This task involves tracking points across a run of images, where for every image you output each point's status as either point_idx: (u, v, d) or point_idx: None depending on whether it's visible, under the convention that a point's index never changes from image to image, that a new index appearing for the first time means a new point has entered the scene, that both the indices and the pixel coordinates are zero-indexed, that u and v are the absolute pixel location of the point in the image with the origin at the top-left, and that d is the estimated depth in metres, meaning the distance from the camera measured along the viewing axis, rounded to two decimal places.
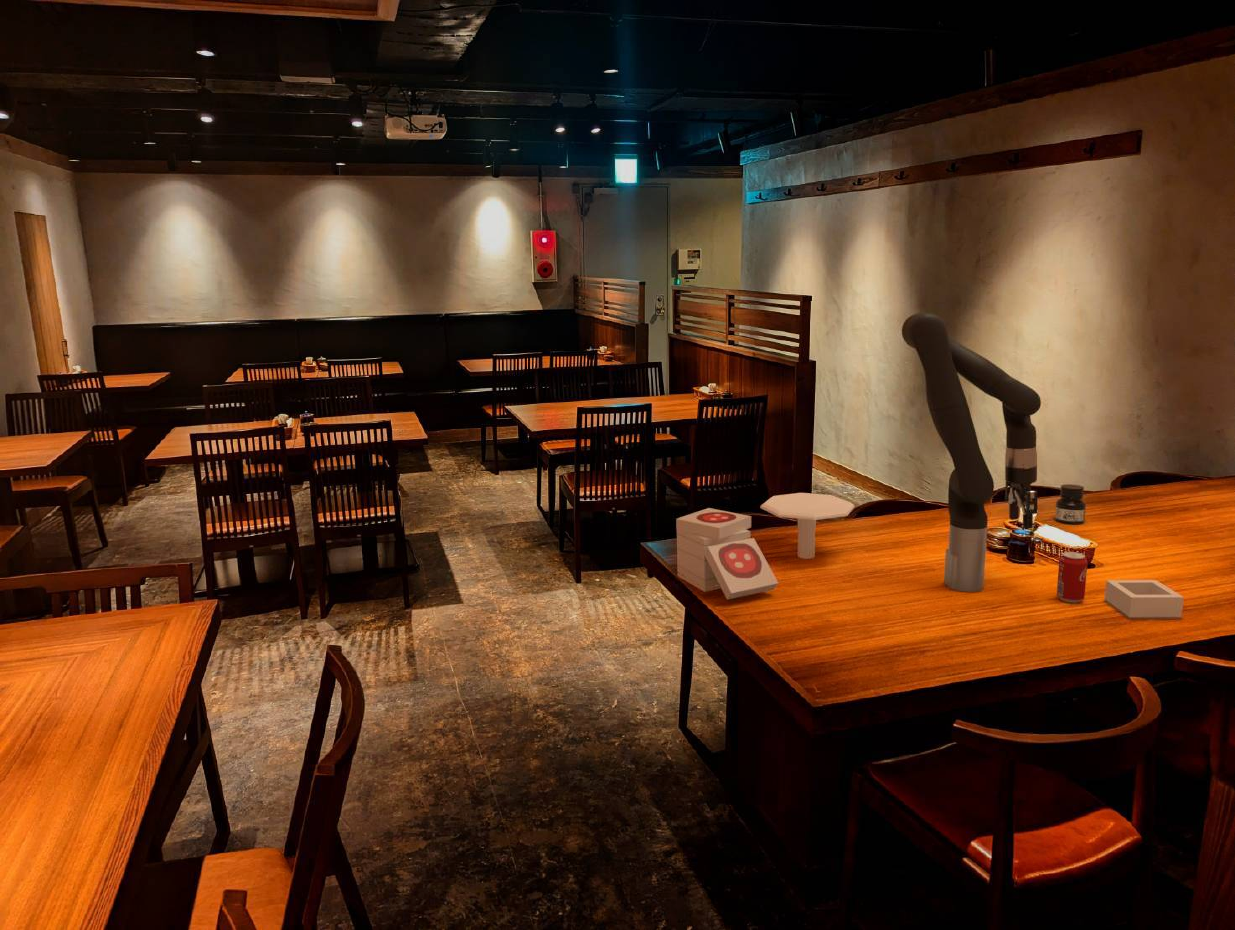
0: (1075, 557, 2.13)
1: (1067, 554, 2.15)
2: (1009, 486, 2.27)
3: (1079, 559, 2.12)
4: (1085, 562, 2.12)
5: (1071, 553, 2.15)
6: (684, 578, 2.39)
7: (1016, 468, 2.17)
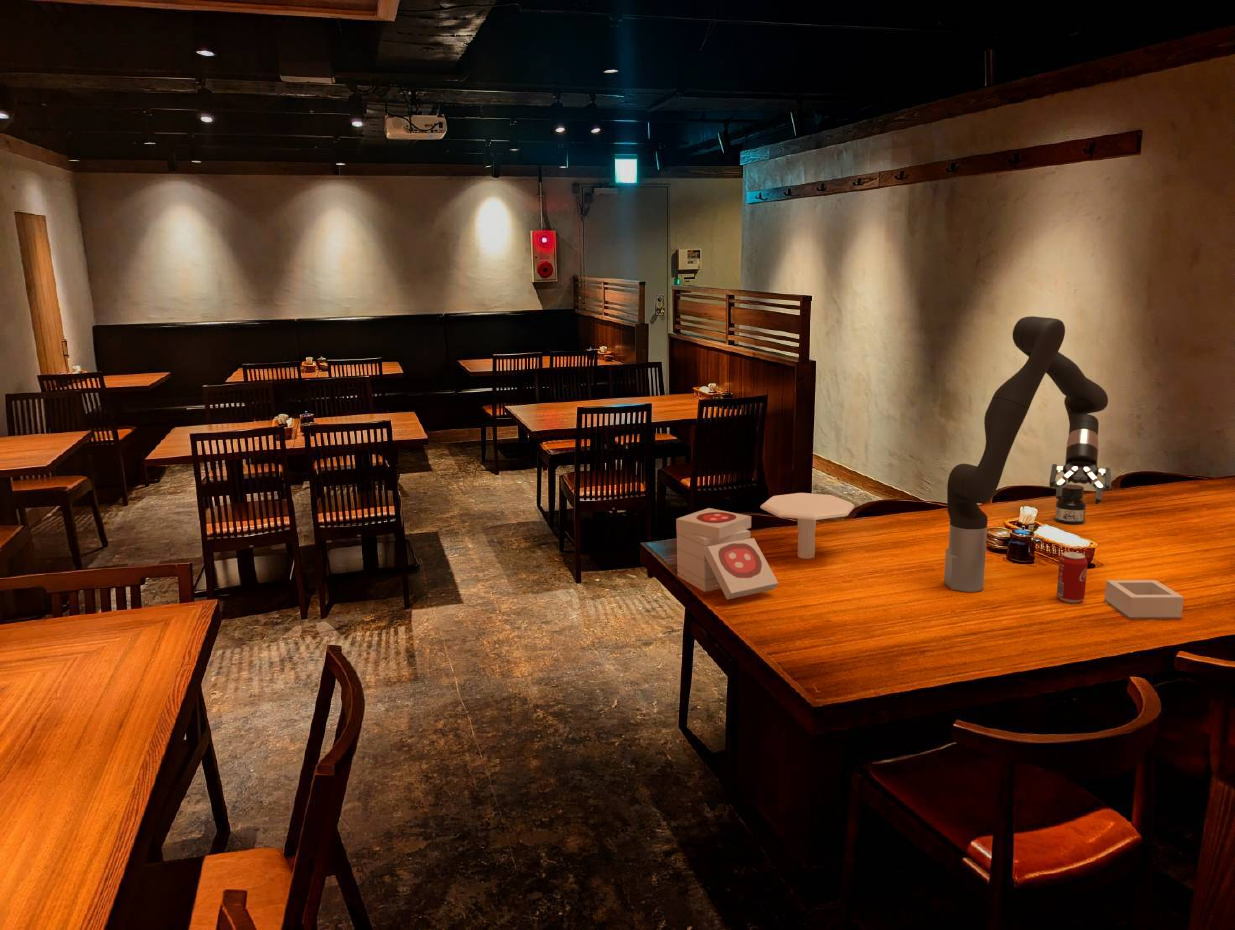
0: (1075, 557, 2.13)
1: (1067, 554, 2.15)
2: None
3: (1079, 559, 2.12)
4: (1085, 562, 2.12)
5: (1071, 553, 2.15)
6: (684, 578, 2.39)
7: (1094, 447, 2.26)
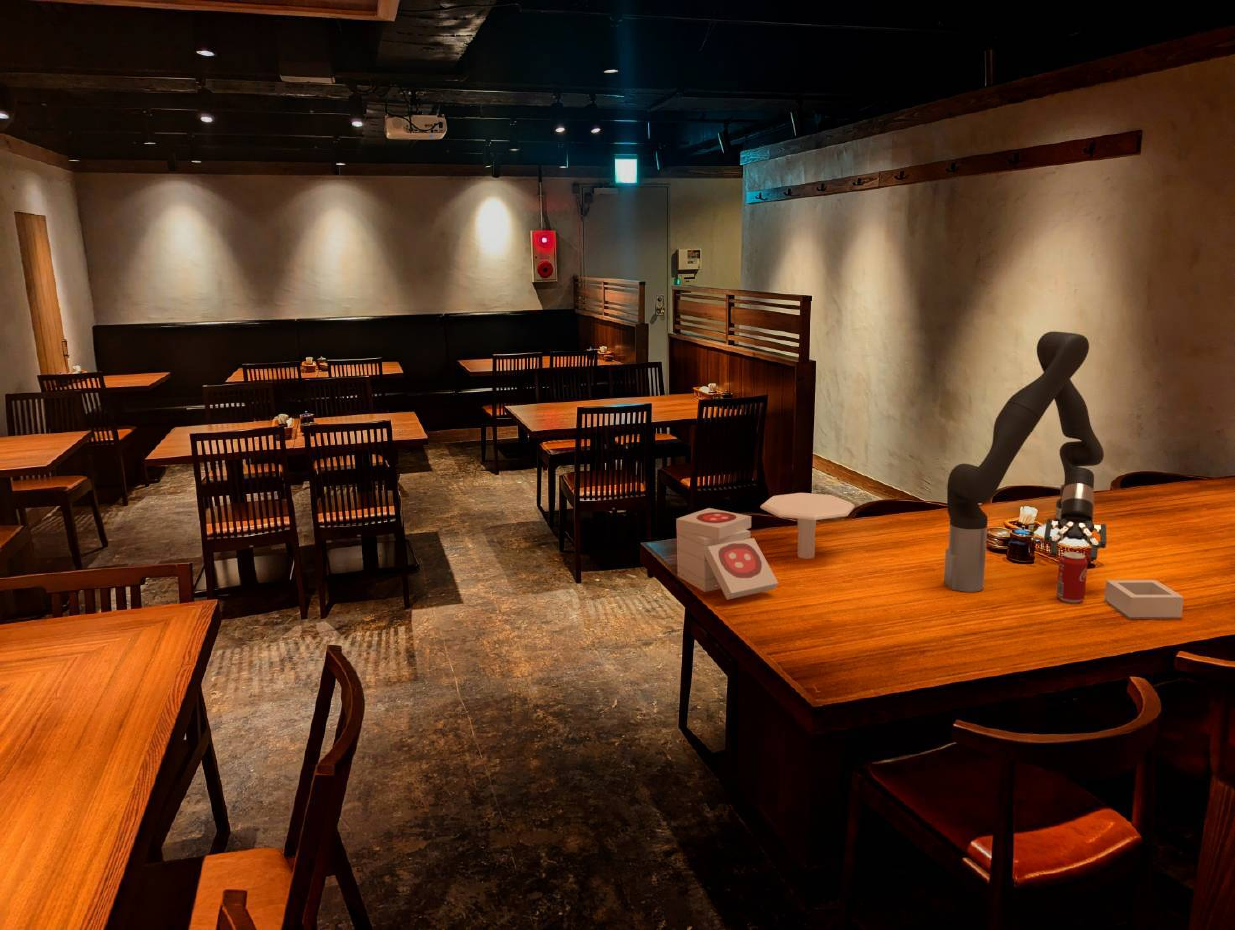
0: (1075, 557, 2.13)
1: (1067, 554, 2.15)
2: None
3: (1079, 559, 2.12)
4: (1085, 562, 2.12)
5: (1071, 553, 2.15)
6: (684, 578, 2.39)
7: (1090, 502, 2.22)
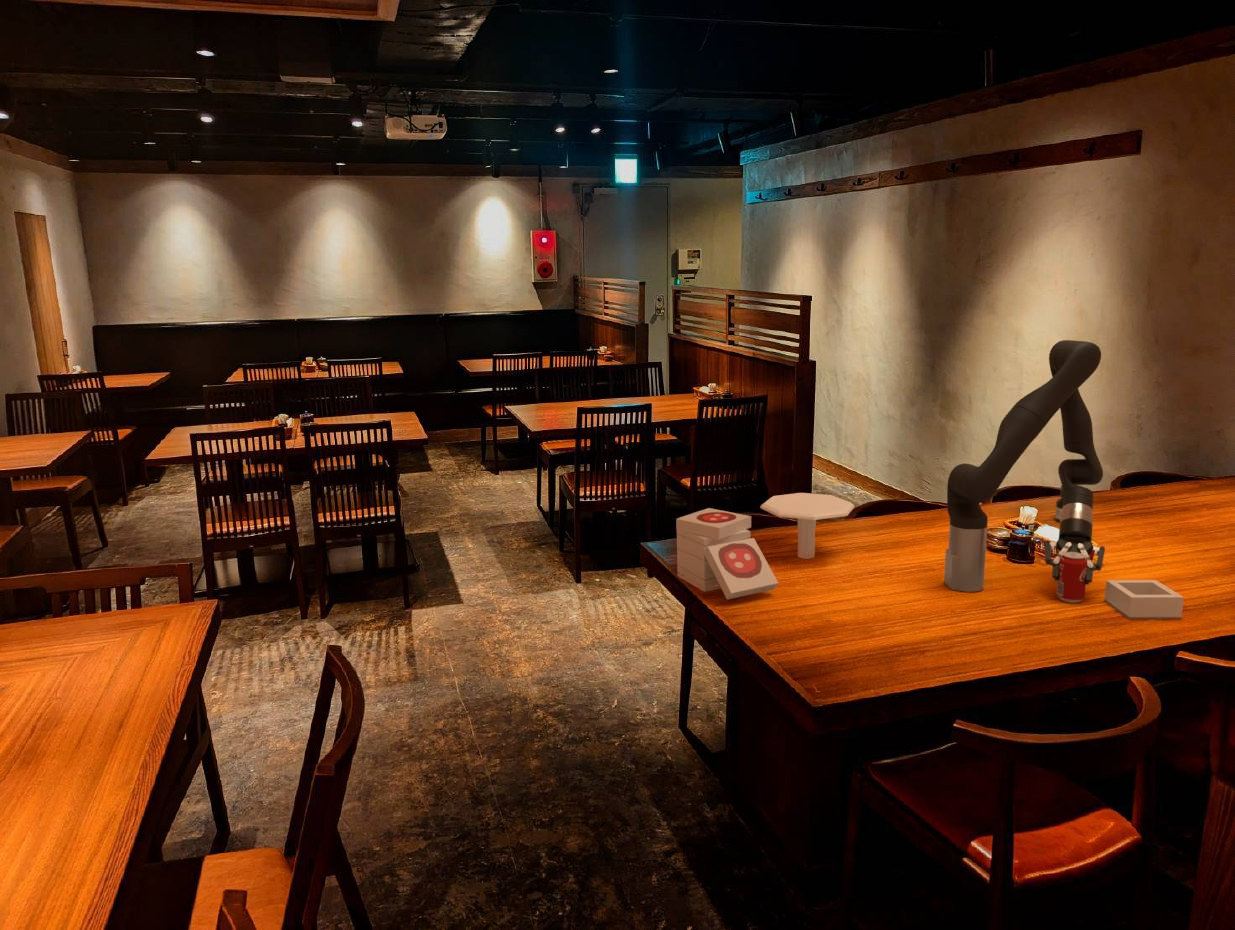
0: (1075, 557, 2.13)
1: (1067, 554, 2.15)
2: None
3: (1079, 559, 2.12)
4: (1085, 562, 2.12)
5: (1071, 553, 2.15)
6: (684, 578, 2.39)
7: (1089, 522, 2.18)
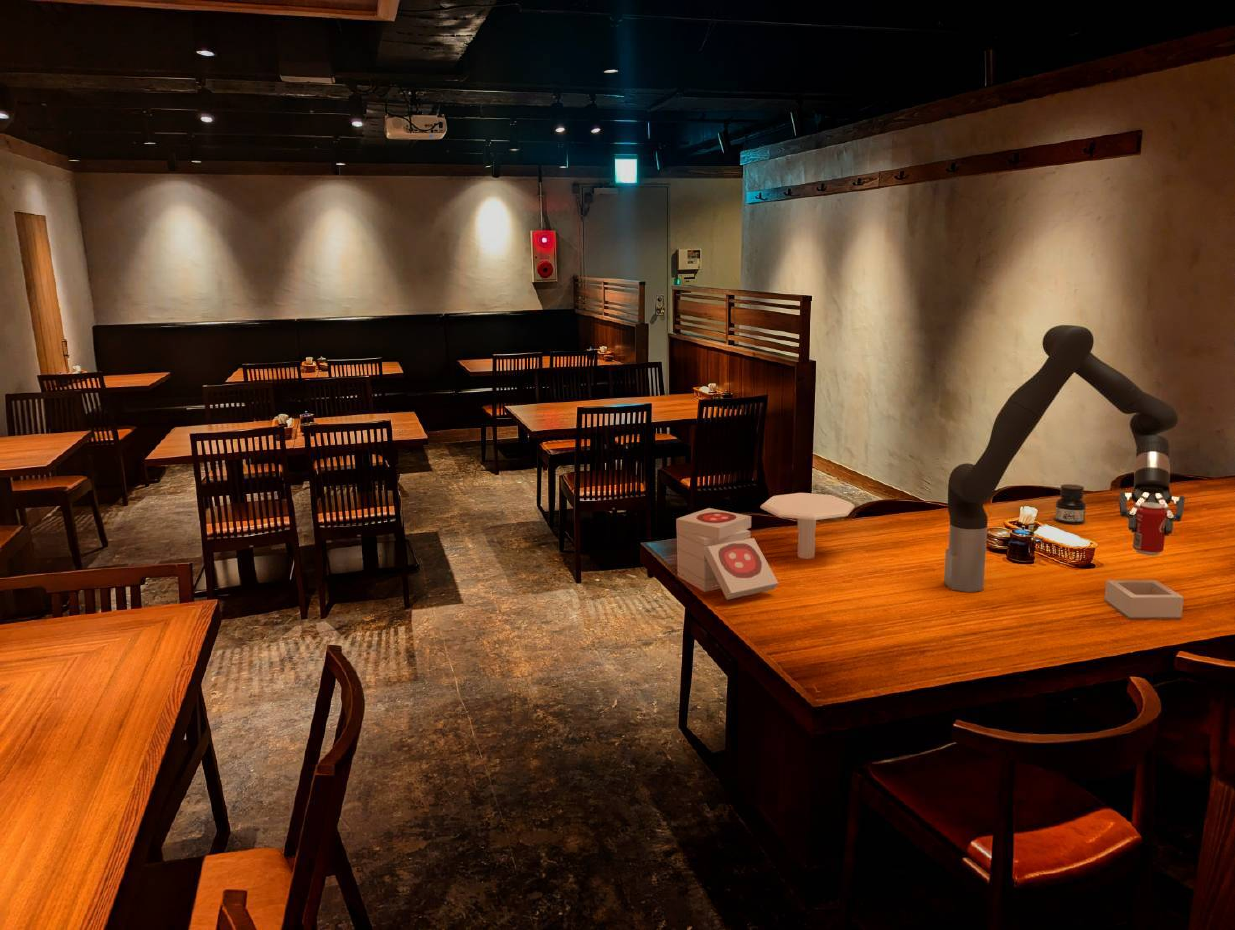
0: (1154, 507, 2.02)
1: (1145, 504, 2.04)
2: None
3: (1159, 509, 2.01)
4: (1165, 512, 2.01)
5: (1149, 503, 2.05)
6: (684, 578, 2.39)
7: (1166, 471, 2.08)
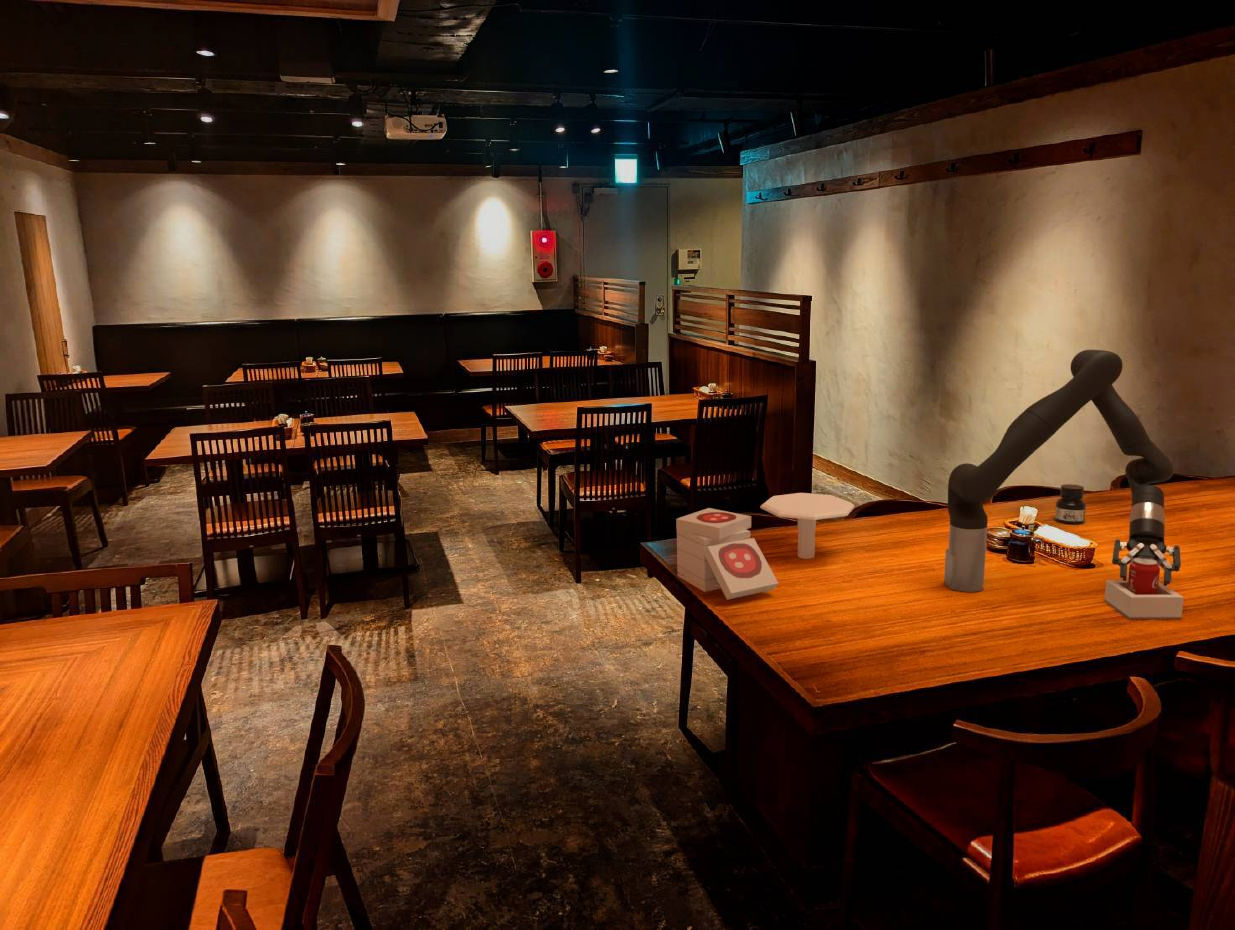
0: (1147, 563, 2.05)
1: (1138, 560, 2.08)
2: None
3: (1151, 565, 2.04)
4: (1158, 568, 2.04)
5: (1142, 559, 2.08)
6: (684, 578, 2.39)
7: (1161, 522, 2.10)
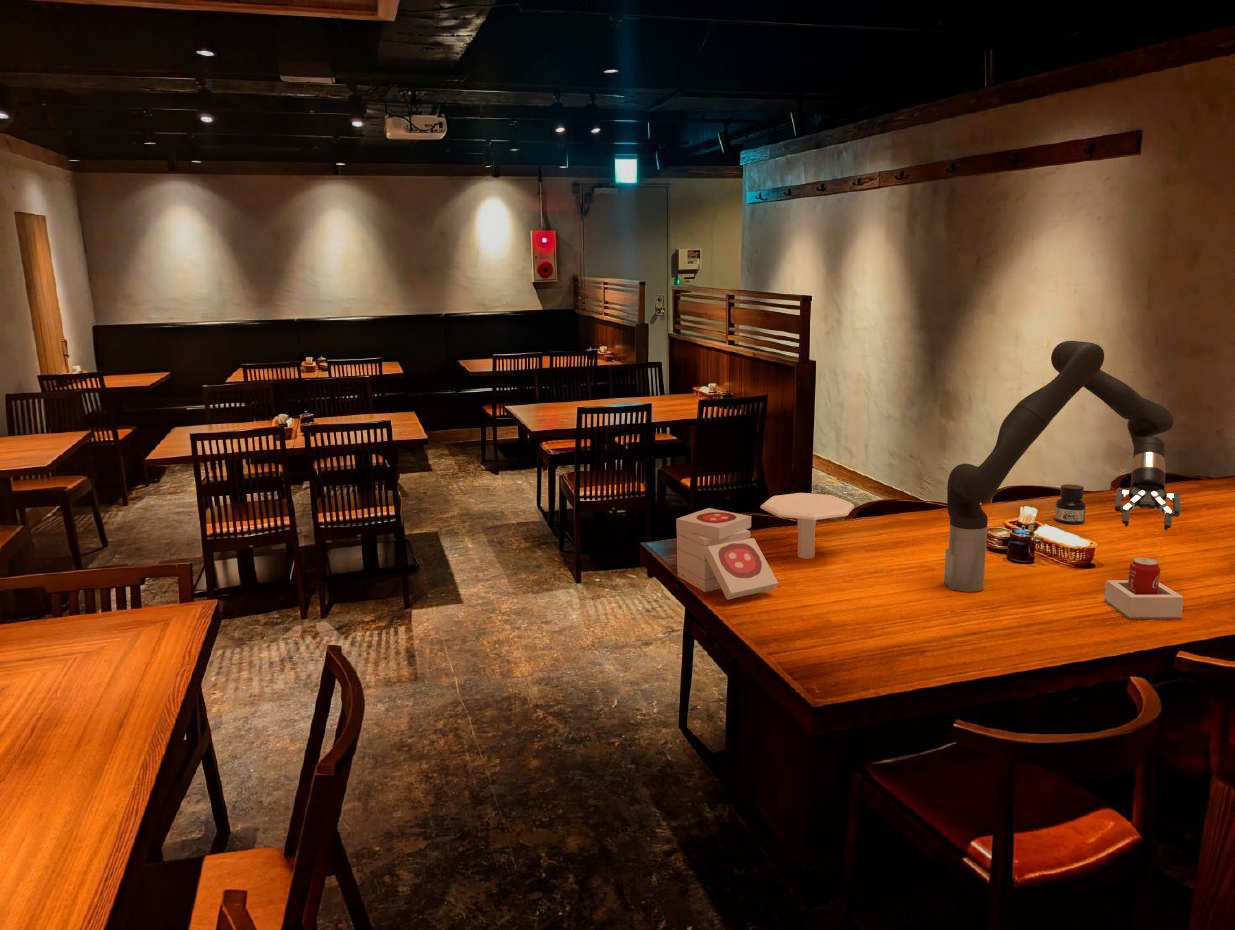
0: (1147, 563, 2.05)
1: (1138, 560, 2.07)
2: None
3: (1152, 565, 2.04)
4: (1158, 568, 2.04)
5: (1142, 559, 2.08)
6: (684, 578, 2.39)
7: (1162, 471, 2.19)
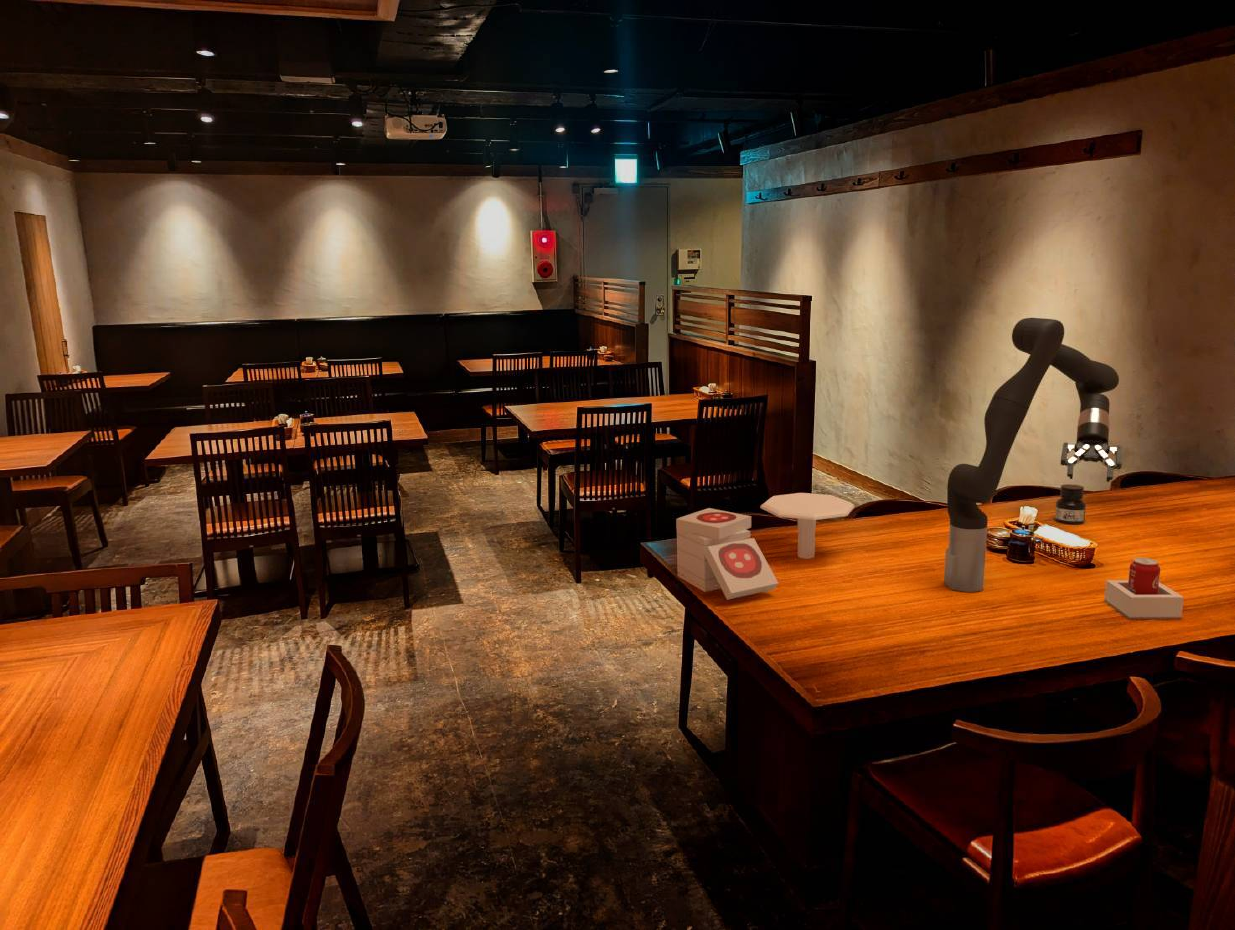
0: (1147, 563, 2.05)
1: (1138, 560, 2.08)
2: None
3: (1152, 565, 2.04)
4: (1158, 568, 2.04)
5: (1142, 559, 2.08)
6: (684, 578, 2.39)
7: (1106, 425, 2.27)
